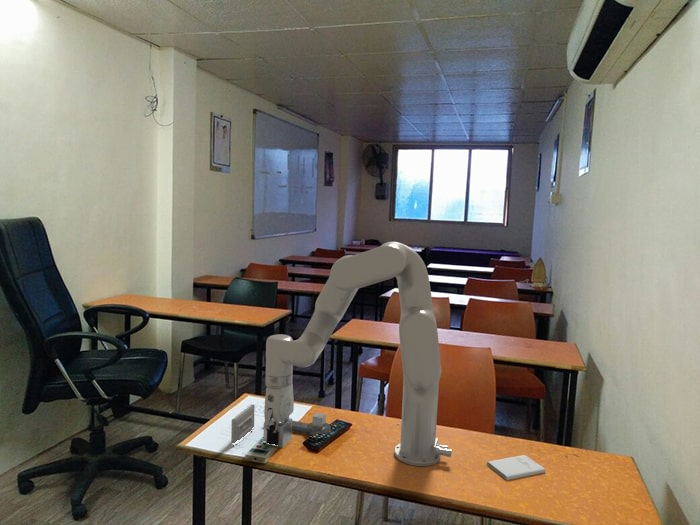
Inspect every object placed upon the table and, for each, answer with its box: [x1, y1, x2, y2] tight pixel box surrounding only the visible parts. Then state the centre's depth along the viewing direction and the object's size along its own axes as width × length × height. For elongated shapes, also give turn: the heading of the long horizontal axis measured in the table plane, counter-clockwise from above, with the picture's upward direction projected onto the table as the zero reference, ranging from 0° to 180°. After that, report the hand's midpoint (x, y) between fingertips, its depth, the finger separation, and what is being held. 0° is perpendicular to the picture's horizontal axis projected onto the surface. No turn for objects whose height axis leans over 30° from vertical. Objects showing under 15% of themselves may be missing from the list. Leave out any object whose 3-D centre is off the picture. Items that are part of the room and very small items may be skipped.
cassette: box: [230, 404, 255, 444], centre depth 143 cm, size 12×2×8 cm, turn 163°
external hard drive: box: [486, 454, 546, 481], centre depth 131 cm, size 2×8×12 cm
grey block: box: [263, 417, 293, 449], centre depth 141 cm, size 6×6×6 cm
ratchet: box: [292, 412, 332, 437], centre depth 149 cm, size 20×7×6 cm, turn 72°
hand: (277, 439), depth 142 cm, fingers closed on grey block, 6 cm apart
